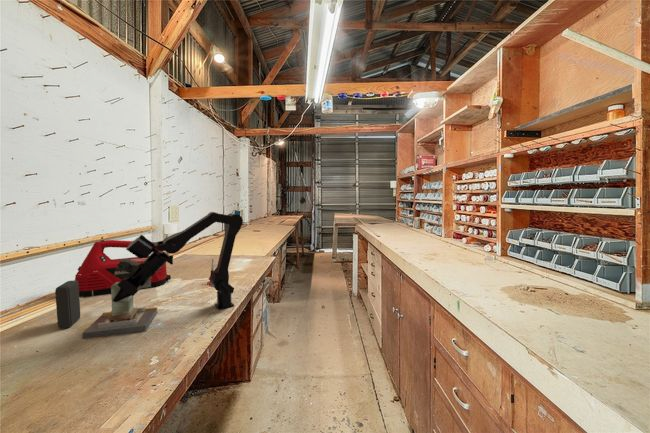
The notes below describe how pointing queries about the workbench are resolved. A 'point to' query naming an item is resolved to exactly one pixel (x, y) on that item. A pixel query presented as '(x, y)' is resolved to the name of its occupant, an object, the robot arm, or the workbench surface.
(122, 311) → the layered pillar on plinth
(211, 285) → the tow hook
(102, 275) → the power tool
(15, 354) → the workbench surface
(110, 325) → the dock plate
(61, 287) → the card reader
